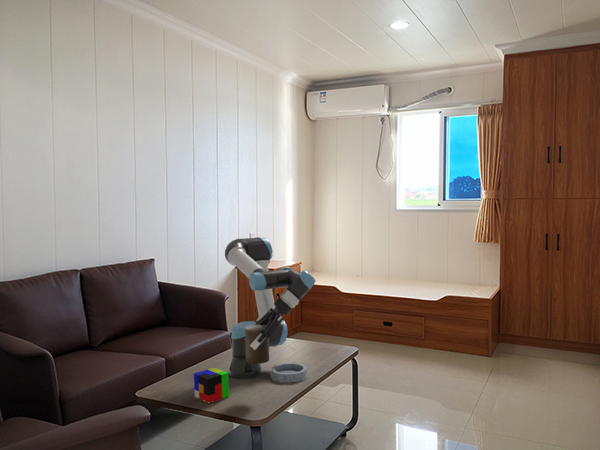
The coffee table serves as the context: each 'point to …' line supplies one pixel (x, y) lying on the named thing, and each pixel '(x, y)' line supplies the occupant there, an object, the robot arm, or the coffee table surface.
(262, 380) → the coffee table surface
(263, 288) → the robot arm
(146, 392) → the coffee table surface
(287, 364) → the candle dish
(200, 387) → the puzzle toy
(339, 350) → the coffee table surface
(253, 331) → the pillar candle
